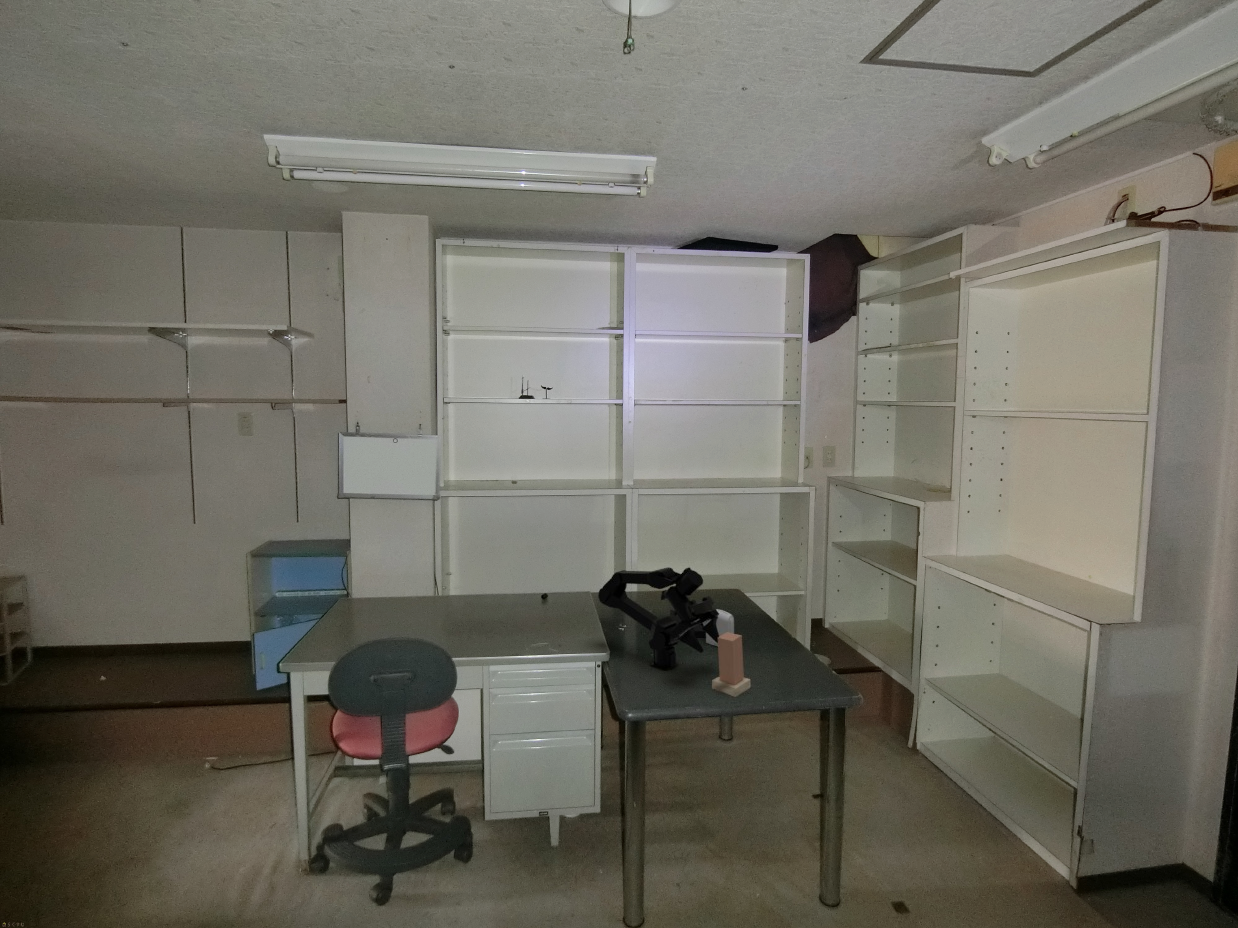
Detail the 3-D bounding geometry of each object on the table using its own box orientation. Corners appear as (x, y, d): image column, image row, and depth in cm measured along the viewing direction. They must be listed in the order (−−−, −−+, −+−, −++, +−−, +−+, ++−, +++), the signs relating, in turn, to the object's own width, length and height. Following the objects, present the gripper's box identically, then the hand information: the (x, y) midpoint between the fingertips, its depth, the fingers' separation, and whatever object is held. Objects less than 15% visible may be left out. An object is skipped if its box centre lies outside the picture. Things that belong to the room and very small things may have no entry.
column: (719, 680, 184) (717, 637, 183) (729, 674, 188) (726, 632, 187) (734, 684, 181) (732, 641, 180) (743, 678, 185) (741, 635, 183)
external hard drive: (670, 639, 225) (670, 630, 225) (670, 617, 248) (670, 610, 248) (711, 639, 224) (711, 631, 224) (706, 617, 247) (706, 610, 247)
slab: (712, 690, 185) (712, 680, 184) (727, 681, 190) (727, 671, 190) (735, 698, 179) (735, 688, 179) (750, 689, 185) (750, 679, 185)
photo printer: (703, 643, 220) (703, 608, 219) (711, 639, 223) (711, 605, 222) (729, 650, 213) (729, 615, 212) (736, 647, 216) (736, 611, 215)
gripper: (678, 596, 184) (709, 642, 177) (714, 582, 197) (744, 625, 191) (657, 616, 190) (686, 662, 183) (693, 602, 203) (722, 643, 197)
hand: (711, 647), depth 189 cm, fingers open, 9 cm apart
